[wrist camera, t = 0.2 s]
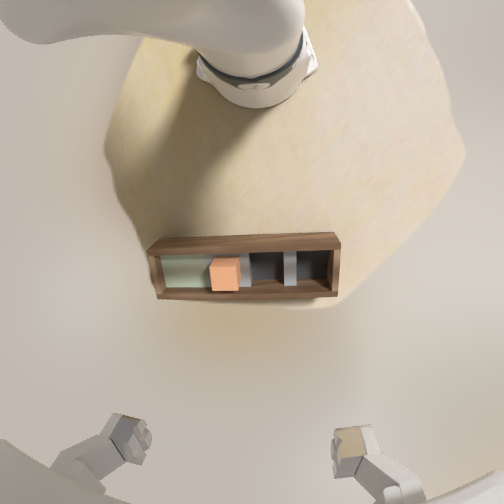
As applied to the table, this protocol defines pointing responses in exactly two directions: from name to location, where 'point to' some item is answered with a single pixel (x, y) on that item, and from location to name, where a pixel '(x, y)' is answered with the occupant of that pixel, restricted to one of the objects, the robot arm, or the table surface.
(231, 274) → the block
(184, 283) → the box
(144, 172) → the table surface
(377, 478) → the robot arm
